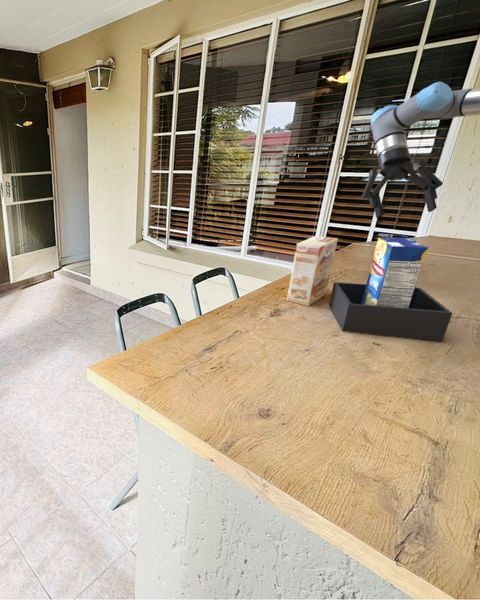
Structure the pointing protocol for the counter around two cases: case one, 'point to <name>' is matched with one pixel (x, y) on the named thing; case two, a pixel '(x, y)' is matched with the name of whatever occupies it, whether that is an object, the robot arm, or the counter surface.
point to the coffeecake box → (311, 269)
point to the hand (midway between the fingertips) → (405, 213)
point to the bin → (389, 314)
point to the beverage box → (394, 272)
